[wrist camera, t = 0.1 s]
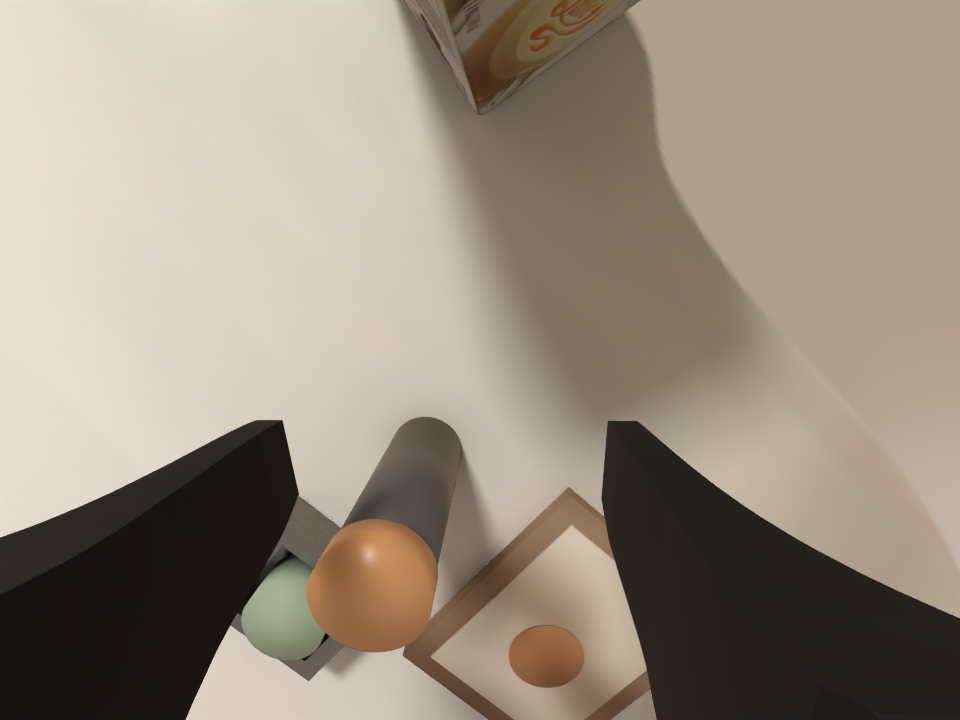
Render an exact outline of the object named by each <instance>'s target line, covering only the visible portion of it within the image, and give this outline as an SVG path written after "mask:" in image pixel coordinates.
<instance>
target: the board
mask: <svg viewBox="0 0 960 720" xmlns="http://www.w3.org/2000/svg"><path fill="white" fill-rule="evenodd" d="M403 656H404V657H405V658H406V659H408V660H409V661H411V662H412V663H413V664H415V665H416V666H417V667H419V668H420V669H421V670H423V671H424V672H425V673H427V674H428V675H429V676H431V677H432V678H433V679H435V680H436V681H437V682H439V683H440V684H442V685H443V686H444V687H446V688H447V689H448V690H450V691H451V692H452V693H454V694H455V695H456V696H458V697H459V698H460V699H462V700H463V701H464V702H466V703H467V704H468V705H470V706H471V707H473V708H474V709H475V710H477V711H478V712H479V713H481V714H482V715H483V716H485V717H486V718H487V719H489V720H611V719H612V718H613V717H614V716H616V715H617V714H618V713H620V712H621V711H622V710H623V709H625V708H626V707H627V706H628V705H630V704H631V703H632V702H634V701H635V700H636V699H637V698H639V697H640V696H641V695H643V694H644V693H645V692H646V691H648V690H649V689H650V683H649V678H648V674H647V669H646V664H645V661H644V657H643V653H642V649H641V645H640V642H639V638H638V635H637V632H636V628H635V625H634V622H633V619H632V615H631V612H630V609H629V606H628V602H627V599H626V596H625V593H624V589H623V586H622V583H621V580H620V576H619V573H618V570H617V566H616V563H615V560H614V556H613V553H612V550H611V546H610V543H609V539H608V533H607V528H606V522H605V517H604V516H602V515H601V514H600V513H599V512H598V511H596V510H595V509H594V508H593V507H592V506H590V505H589V504H588V503H587V502H586V501H584V500H583V499H582V498H581V497H580V496H579V495H577V494H576V493H575V492H574V491H573V490H571V489H570V488H567V489H566V490H565V491H564V492H563V493H562V494H561V495H560V496H559V497H558V498H557V499H556V500H555V501H554V502H553V503H552V504H551V505H550V506H549V507H548V508H547V509H546V510H544V511H543V512H542V513H541V514H540V515H539V516H538V517H537V518H536V519H535V520H534V521H533V522H532V523H531V524H530V525H529V526H528V527H527V528H526V529H525V530H524V531H523V532H521V533H520V534H519V535H518V536H517V537H516V538H515V539H514V540H513V541H512V542H511V543H510V544H509V545H508V546H507V547H506V548H505V549H504V550H503V551H502V552H501V553H499V554H498V555H497V556H496V557H495V558H494V559H493V560H492V561H491V562H490V563H489V564H488V565H487V566H486V567H485V568H484V569H483V570H482V571H481V572H480V573H479V574H478V575H476V576H475V577H474V578H473V579H472V580H471V581H470V582H469V583H468V584H467V585H466V586H465V587H464V588H463V589H462V590H461V591H460V592H459V593H458V594H457V595H456V596H455V597H453V598H452V599H451V600H450V601H449V602H448V603H447V604H446V605H445V606H444V607H443V608H442V609H441V610H440V611H439V612H438V613H437V614H436V615H435V616H434V617H433V618H431V619H430V620H429V621H428V623H427V625H426V627H425V628H424V630H423V631H422V632H421V634H420V635H419V636H418V637H417V638H416V639H414V640H413V641H412V642H410V643H409V644H407V645H405V649H404V653H403Z"/></svg>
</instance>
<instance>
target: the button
mask: <svg viewBox="0 0 960 720" xmlns="http://www.w3.org/2000/svg"><path fill="white" fill-rule="evenodd" d="M313 570H314V569H313V568H312V567H310V566H309V565H308V564H306V563H305V562H304V561H302V560H301V559H300V558H298V557H297V556H296V555H291V556H288V557H285V558H283V559H281V560H280V561H278V562H277V563H276V564H275V565H274V566H273V568H272V569H271V570H270V572H269V573H268V575H267V576H266V577H265V579H264V580H263V582H262V583H261V584H260V586H259V587H258V589H257V590H256V591H255V593H254V594H253V596H252V597H251V598H250V600H249V601H248V603H247V604H246V605H245V607H244V609H243V612H242V617H241V622H242V628H243V631H244V633H245V636H246V637H247V639H248V640H249V642H250V643H251V644H252V645H253V646H254V647H255V648H256V649H258V650H259V651H260V652H262V653H263V654H265V655H267V656H270V657H272V658H276V659H280V660H297V659H301V658H304V657H306V656H308V655H310V654H312V653H313V652H314V651H315V650H316V649H317V648H318V646H319V645H320V643H321V641H322V639H323V637H324V635H325V632H324V631H323V629H322V628H321V627H320V626H319V625H318V623H317V622H316V621H315V619H314V617H313V616H312V613H311V611H310V608H309V605H308V600H307V586H308V581H309V578H310V575H311V573H312V571H313Z"/></svg>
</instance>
